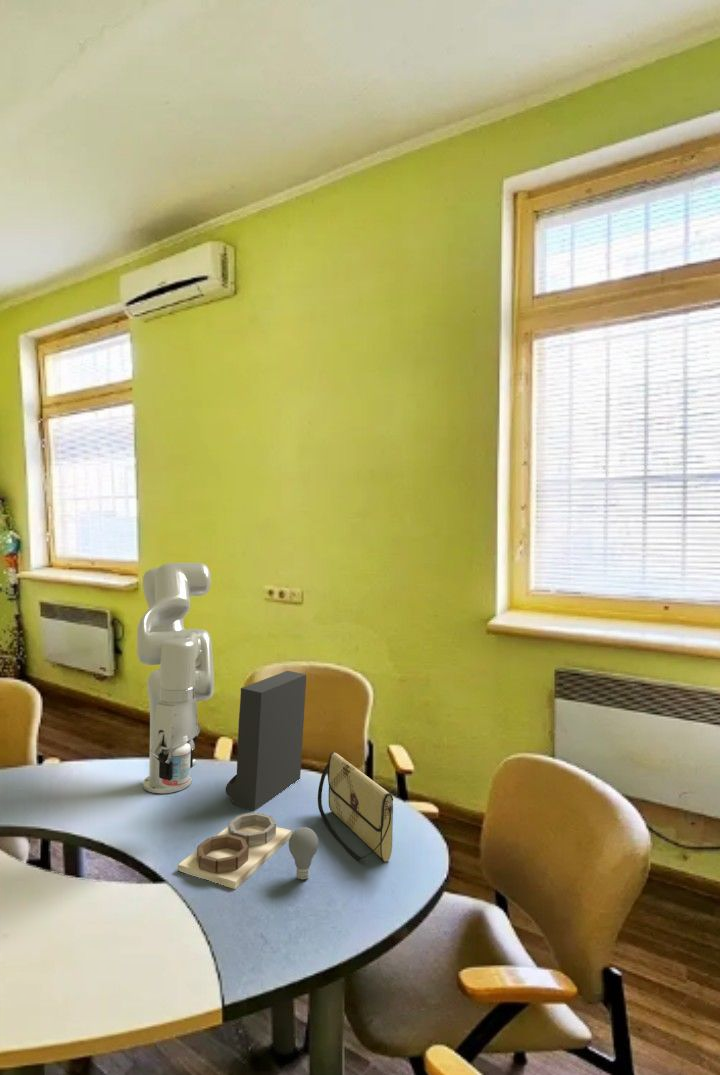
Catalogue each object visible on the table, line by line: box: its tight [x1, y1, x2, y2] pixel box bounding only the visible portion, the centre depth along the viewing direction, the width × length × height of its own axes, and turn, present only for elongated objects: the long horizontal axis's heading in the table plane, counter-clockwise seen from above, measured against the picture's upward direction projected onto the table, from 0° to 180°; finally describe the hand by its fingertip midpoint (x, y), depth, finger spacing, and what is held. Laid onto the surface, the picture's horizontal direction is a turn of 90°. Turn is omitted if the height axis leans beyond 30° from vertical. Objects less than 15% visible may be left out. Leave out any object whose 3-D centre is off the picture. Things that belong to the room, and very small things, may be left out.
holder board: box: [177, 812, 292, 890], centre depth 131 cm, size 22×14×4 cm, turn 157°
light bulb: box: [288, 826, 319, 880], centre depth 123 cm, size 6×6×10 cm
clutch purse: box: [317, 751, 394, 863], centre depth 139 cm, size 30×7×15 cm, turn 29°
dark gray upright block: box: [224, 670, 307, 812], centre depth 162 cm, size 21×11×30 cm, turn 154°
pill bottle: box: [162, 736, 191, 789], centre depth 137 cm, size 6×6×11 cm
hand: (176, 772), depth 137 cm, fingers closed on pill bottle, 6 cm apart
